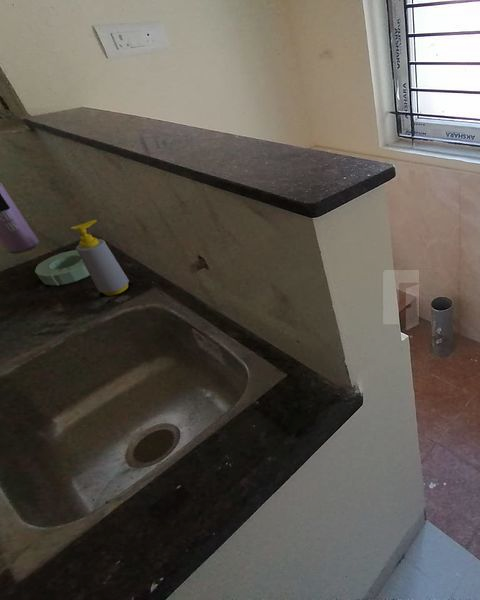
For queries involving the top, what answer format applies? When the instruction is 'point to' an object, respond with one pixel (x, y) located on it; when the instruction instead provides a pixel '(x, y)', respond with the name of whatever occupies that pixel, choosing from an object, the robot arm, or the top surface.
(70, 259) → the socket pad
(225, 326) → the top surface
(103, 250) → the soap bottle
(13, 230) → the beverage can
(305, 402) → the top surface
